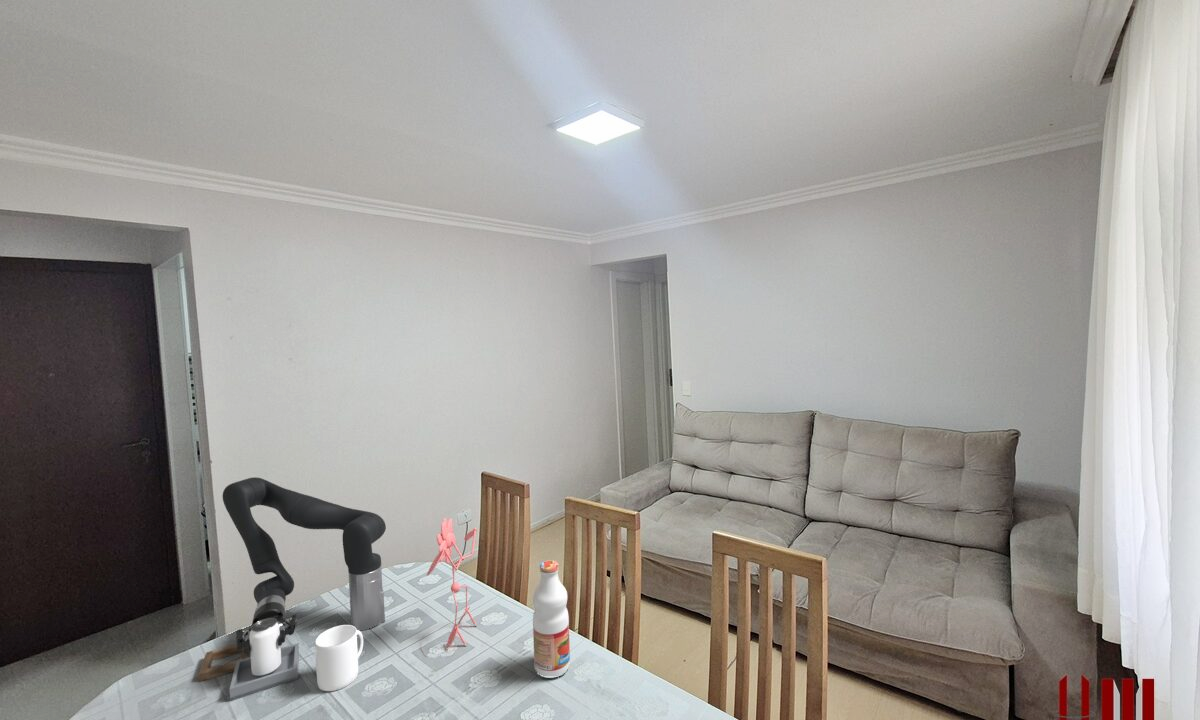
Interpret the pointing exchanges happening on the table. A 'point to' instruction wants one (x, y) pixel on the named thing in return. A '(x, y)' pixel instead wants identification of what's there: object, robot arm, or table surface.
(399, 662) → the table surface
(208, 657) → the walnut collar
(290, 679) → the grey shallow rectangular tray
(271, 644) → the can
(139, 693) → the table surface
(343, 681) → the mug
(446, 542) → the figurine
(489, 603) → the table surface
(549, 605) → the fruit juice
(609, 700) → the table surface
